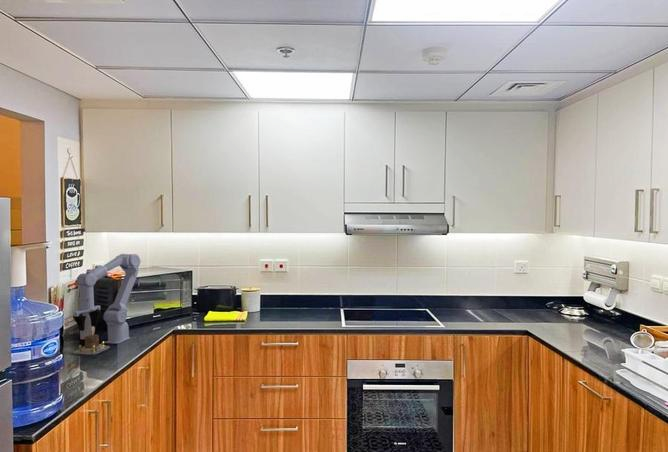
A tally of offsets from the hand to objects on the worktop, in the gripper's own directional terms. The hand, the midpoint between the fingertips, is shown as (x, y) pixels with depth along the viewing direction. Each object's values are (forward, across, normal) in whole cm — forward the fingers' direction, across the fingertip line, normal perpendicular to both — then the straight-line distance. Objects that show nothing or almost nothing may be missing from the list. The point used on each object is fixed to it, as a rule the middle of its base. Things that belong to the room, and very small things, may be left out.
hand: (88, 328), depth 208 cm
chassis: (+10, 0, -2) cm, 11 cm away
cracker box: (+10, +22, +20) cm, 31 cm away
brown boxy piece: (+9, 0, -2) cm, 10 cm away
